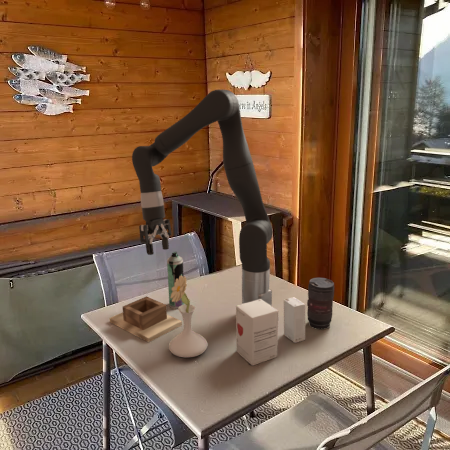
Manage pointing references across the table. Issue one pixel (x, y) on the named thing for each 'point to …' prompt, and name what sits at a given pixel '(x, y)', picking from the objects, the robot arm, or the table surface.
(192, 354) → the flower in vase
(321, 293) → the camera lens
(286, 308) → the skincare box
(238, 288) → the table surface
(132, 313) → the can holder
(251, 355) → the supplement box
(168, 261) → the spray can
